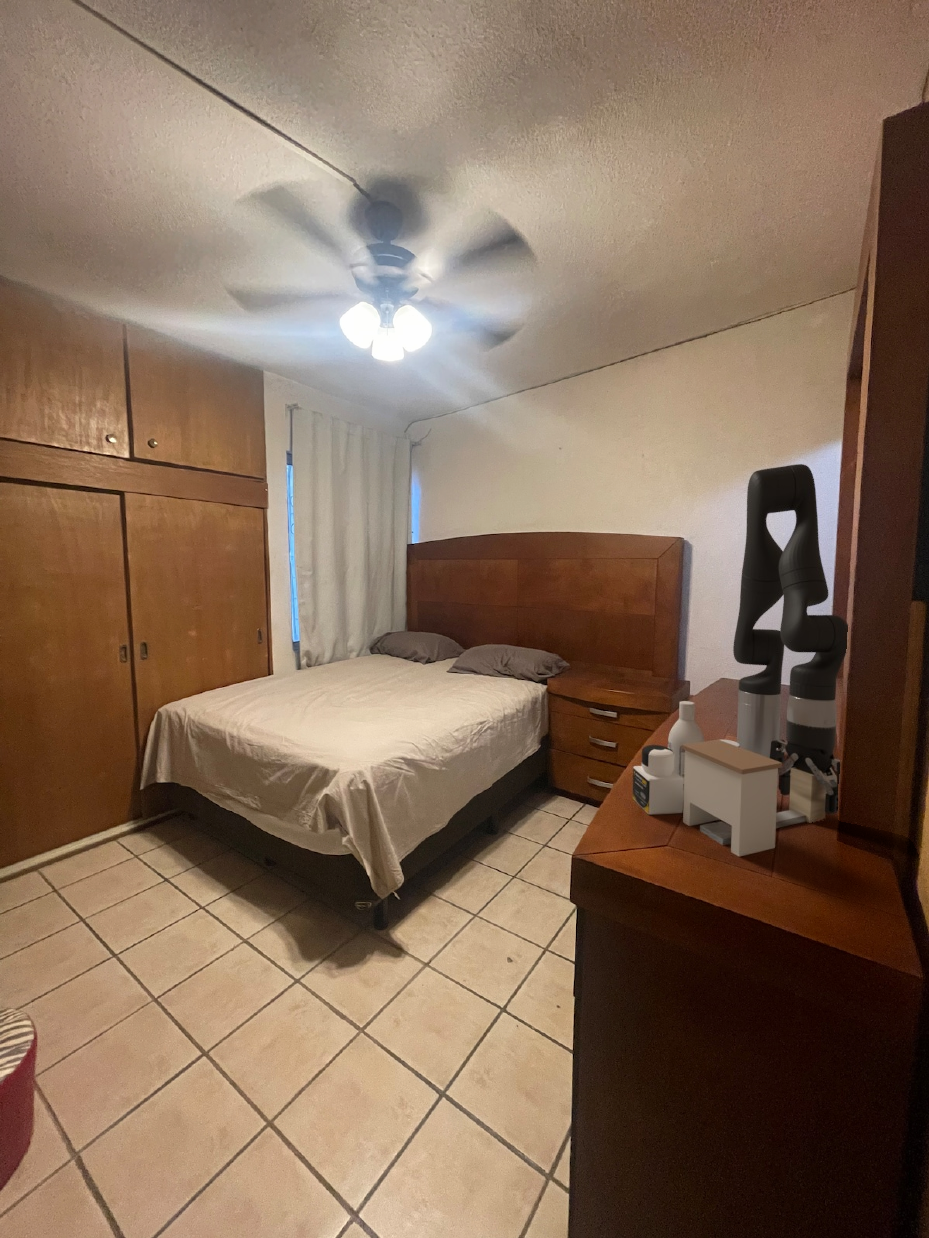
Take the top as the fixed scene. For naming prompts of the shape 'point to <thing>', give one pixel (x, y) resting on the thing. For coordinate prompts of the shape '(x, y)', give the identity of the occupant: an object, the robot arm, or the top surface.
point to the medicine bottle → (658, 782)
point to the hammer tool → (803, 800)
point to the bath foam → (683, 736)
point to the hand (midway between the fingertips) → (807, 803)
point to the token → (718, 832)
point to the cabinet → (732, 792)
